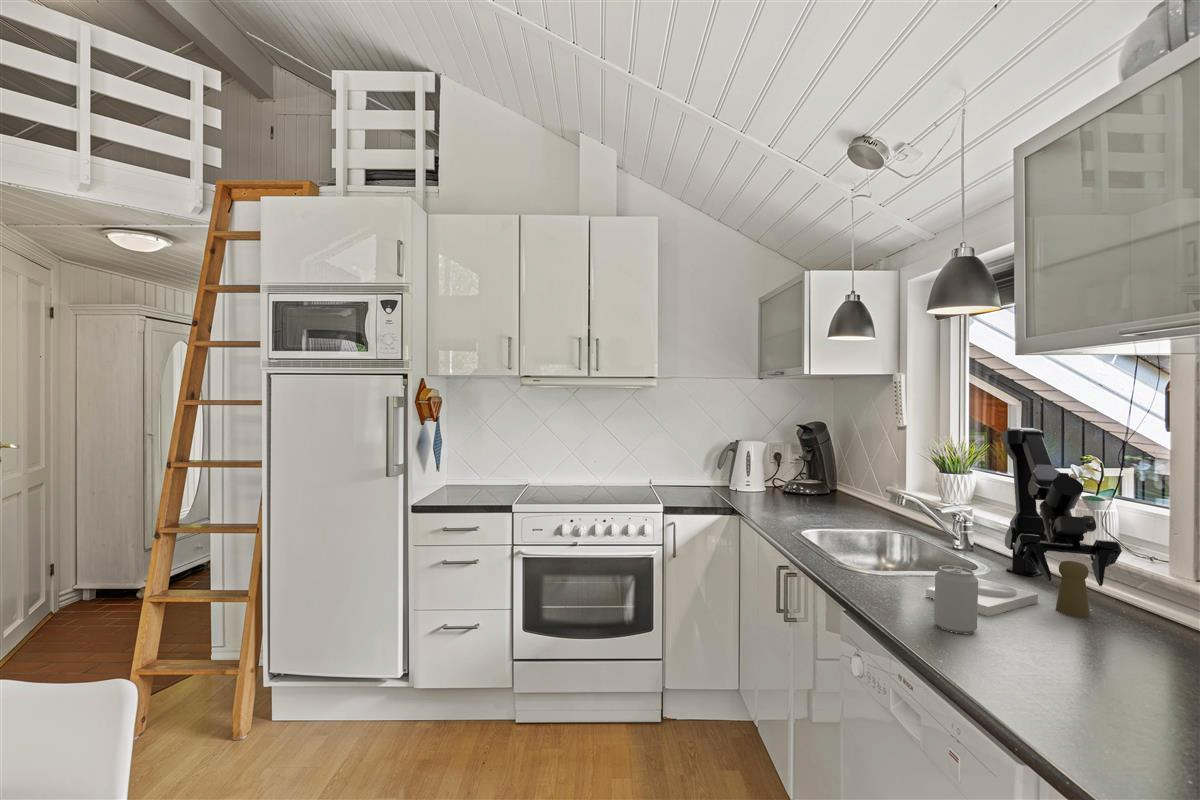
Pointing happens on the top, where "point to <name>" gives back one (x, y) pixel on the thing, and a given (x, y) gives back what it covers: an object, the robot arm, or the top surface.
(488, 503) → the top surface
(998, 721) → the top surface
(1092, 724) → the top surface
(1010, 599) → the kitchen scale
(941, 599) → the can
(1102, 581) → the robot arm
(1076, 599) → the cork
